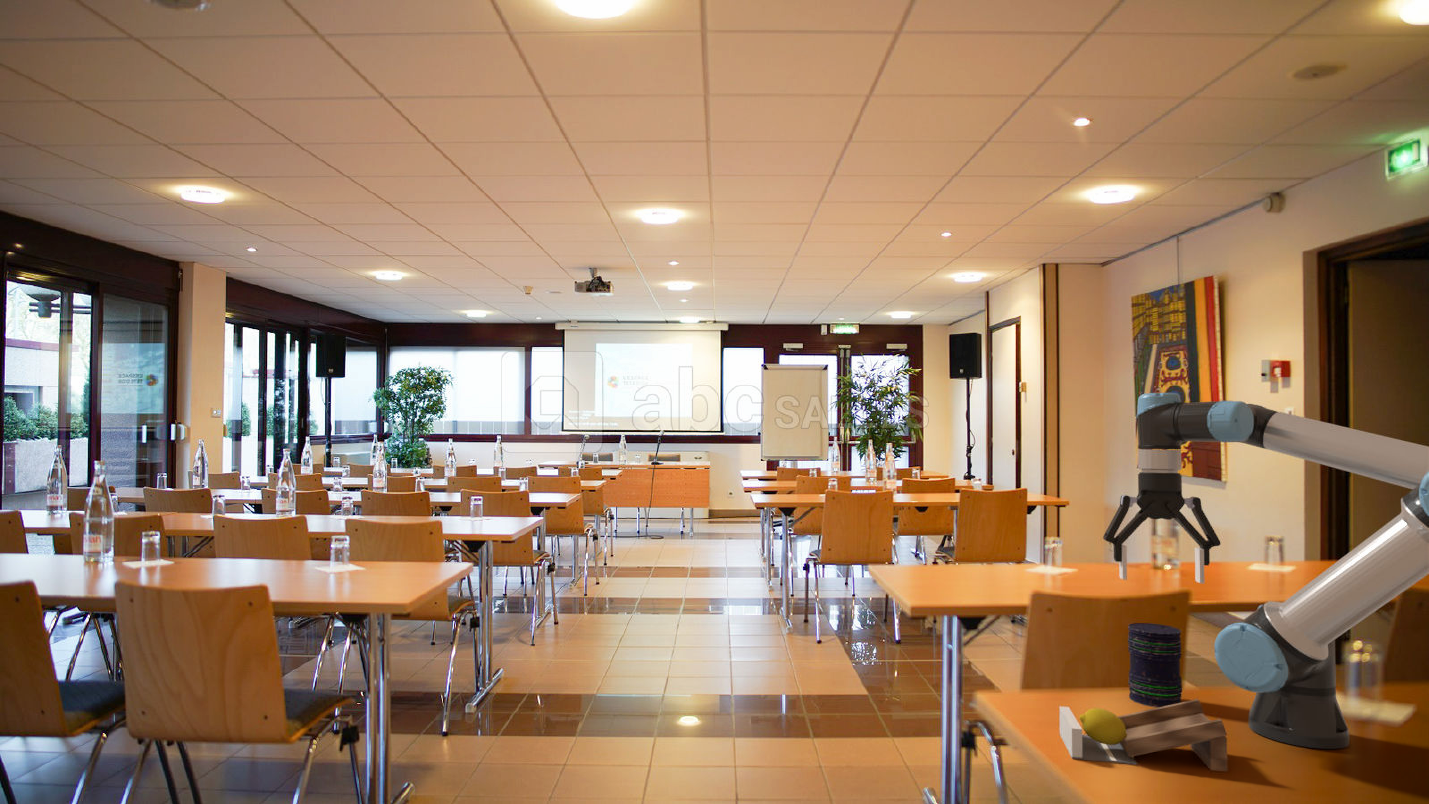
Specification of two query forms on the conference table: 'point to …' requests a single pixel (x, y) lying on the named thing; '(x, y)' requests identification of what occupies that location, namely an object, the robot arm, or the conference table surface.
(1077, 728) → the rail
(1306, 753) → the conference table surface
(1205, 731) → the ramp
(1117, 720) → the lemon
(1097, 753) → the lane mat
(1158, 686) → the dark blue upright cylinder
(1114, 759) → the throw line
